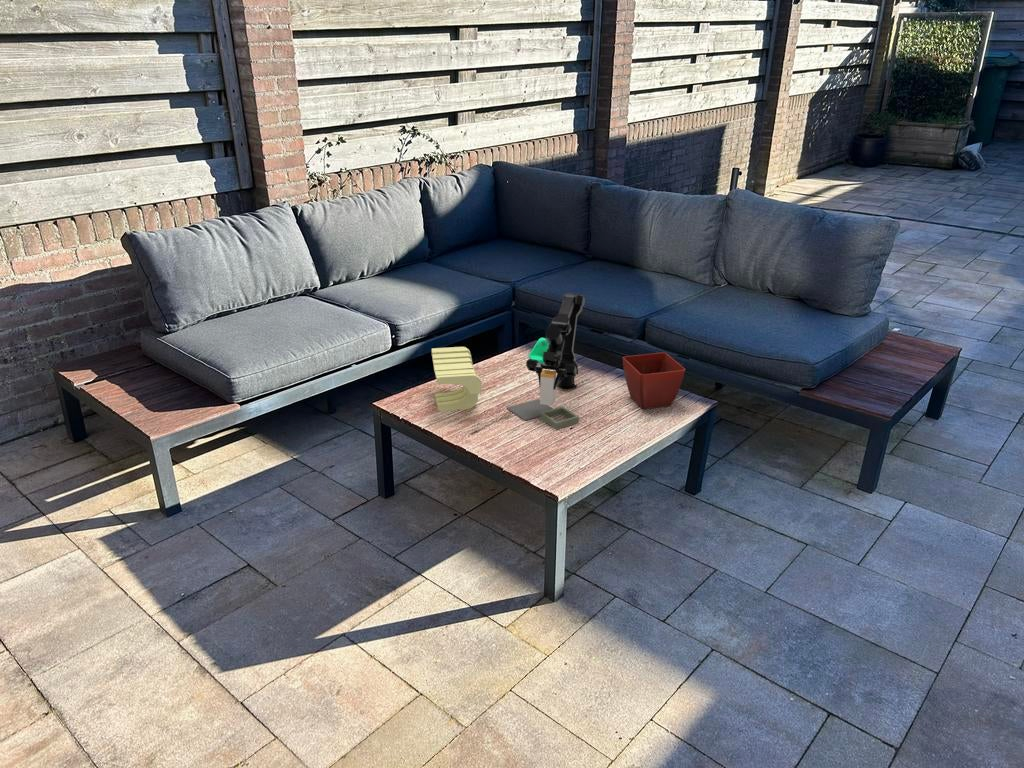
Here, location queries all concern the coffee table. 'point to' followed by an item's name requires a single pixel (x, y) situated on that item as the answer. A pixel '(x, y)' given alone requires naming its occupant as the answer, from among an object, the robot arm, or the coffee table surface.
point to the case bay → (563, 423)
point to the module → (547, 387)
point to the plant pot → (653, 379)
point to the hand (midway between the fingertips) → (547, 388)
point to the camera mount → (539, 350)
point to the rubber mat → (529, 409)
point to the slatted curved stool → (456, 378)
